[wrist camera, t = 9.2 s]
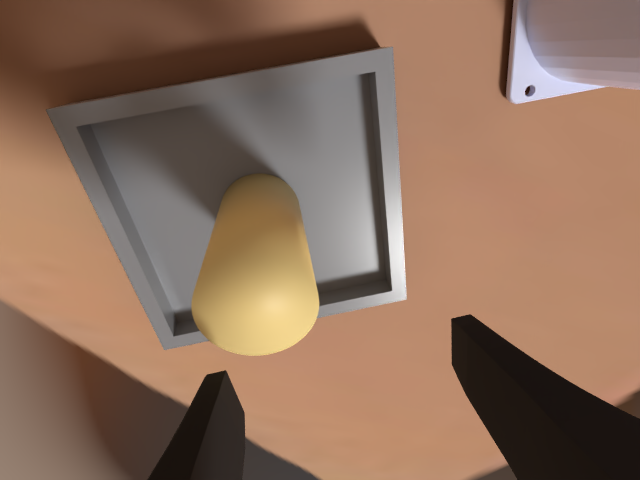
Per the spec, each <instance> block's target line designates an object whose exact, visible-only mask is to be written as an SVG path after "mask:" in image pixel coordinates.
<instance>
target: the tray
mask: <svg viewBox="0 0 640 480" xmlns="http://www.w3.org/2000/svg"><path fill="white" fill-rule="evenodd" d="M46 111H47V113H48V115H49V118H50V120H51V122H52V124H53V126H54V128H55V130H56V132H57V134H58V136H59V138H60V140H61V142H62V144H63V146H64V148H65V150H66V152H67V154H68V156H69V158H70V160H71V162H72V164H73V166H74V168H75V170H76V172H77V174H78V176H79V178H80V180H81V182H82V184H83V186H84V188H85V190H86V193H87V195H88V197H89V199H90V201H91V203H92V205H93V207H94V209H95V211H96V213H97V215H98V217H99V219H100V221H101V223H102V225H103V227H104V229H105V231H106V233H107V235H108V237H109V239H110V241H111V243H112V245H113V247H114V249H115V251H116V253H117V255H118V257H119V259H120V261H121V263H122V265H123V268H124V270H125V272H126V274H127V276H128V278H129V280H130V282H131V284H132V286H133V288H134V290H135V292H136V294H137V296H138V298H139V300H140V302H141V304H142V306H143V308H144V310H145V312H146V314H147V316H148V318H149V320H150V322H151V324H152V326H153V328H154V330H155V332H156V334H157V336H158V338H159V340H160V343H161V345H162V347H163V349H164V350H167V349H172V348H177V347H182V346H186V345H191V344H196V343H201V342H205V341H209V340H208V339H207V338H206V337H205V336H204V335H203V334H202V333H201V332H200V330H199V329H198V327H197V325H196V323H195V321H194V318H193V315H192V309H191V304H192V296H193V292H194V289H195V286H196V283H197V279H198V276H199V273H200V270H201V266H202V263H203V260H204V257H205V253H206V250H207V247H208V243H209V240H210V237H211V234H212V230H213V227H214V224H215V221H216V217H217V214H218V211H219V208H220V204H221V201H222V198H223V195H224V194H225V192H226V190H227V189H228V187H229V186H230V185H231V184H232V183H233V182H235V181H236V180H238V179H239V178H241V177H244V176H246V175H250V174H257V173H262V174H269V175H273V176H275V177H278V178H280V179H281V180H283V181H284V182H286V183H287V184H288V185H289V186H290V187H291V188H292V189H293V191H294V192H295V194H296V196H297V198H298V201H299V205H300V210H301V214H302V219H303V224H304V229H305V234H306V238H307V243H308V248H309V253H310V257H311V262H312V267H313V272H314V277H315V281H316V286H317V291H318V296H319V311H318V316H317V318H320V317H325V316H329V315H334V314H339V313H344V312H349V311H353V310H358V309H363V308H368V307H372V306H377V305H382V304H387V303H391V302H396V301H401V300H406V299H407V296H406V278H405V259H404V241H403V223H402V205H401V186H400V168H399V150H398V131H397V113H396V95H395V76H394V58H393V47H379V48H373V49H368V50H362V51H357V52H351V53H346V54H340V55H334V56H329V57H323V58H318V59H312V60H307V61H301V62H296V63H290V64H285V65H279V66H274V67H268V68H263V69H257V70H252V71H246V72H241V73H235V74H230V75H224V76H219V77H213V78H208V79H202V80H196V81H191V82H185V83H180V84H174V85H169V86H163V87H158V88H152V89H147V90H141V91H136V92H130V93H125V94H119V95H114V96H108V97H103V98H97V99H92V100H86V101H81V102H75V103H70V104H65V105H61V106H58V107H54V108H50V109H46Z"/></svg>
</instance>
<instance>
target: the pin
mask: <svg viewBox="0 0 640 480" xmlns="http://www.w3.org/2000/svg"><path fill="white" fill-rule="evenodd" d="M191 309H192V315H193V318H194V321H195V323H196V325H197V327H198V329H199V330H200V332H201V333H202V334H203V335H204V336H205V337H206V338H207V339H208V340H209V341H210V342H212V343H213V344H215V345H216V346H218V347H220V348H222V349H224V350H226V351H229V352H232V353H236V354H241V355H252V356H257V355H267V354H272V353H276V352H279V351H282V350H285V349H287V348H289V347H291V346H293V345H294V344H296V343H297V342H299V341H300V340H301V339H302V338H303V337H304V336H305V335H306V334H307V333H308V332H309V331H310V329H311V328H312V327H313V325H314V323H315V321H316V318H317V316H318V311H319V296H318V291H317V286H316V281H315V277H314V272H313V267H312V262H311V257H310V253H309V248H308V243H307V238H306V234H305V229H304V224H303V219H302V214H301V210H300V205H299V201H298V198H297V196H296V194H295V192H294V191H293V189H292V188H291V187H290V186H289V185H288V184H287V183H286V182H284V181H283V180H281V179H280V178H278V177H275V176H273V175H269V174H262V173H257V174H250V175H246V176H244V177H241V178H239V179H238V180H236V181H235V182H233V183H232V184H231V185H230V186H229V187H228V189H227V190H226V192H225V194H224V195H223V198H222V201H221V204H220V208H219V211H218V214H217V217H216V221H215V224H214V227H213V230H212V234H211V237H210V240H209V243H208V247H207V250H206V253H205V257H204V260H203V263H202V266H201V270H200V273H199V276H198V279H197V283H196V286H195V289H194V292H193V296H192V304H191Z"/></svg>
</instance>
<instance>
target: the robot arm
mask: <svg viewBox="0 0 640 480" xmlns="http://www.w3.org/2000/svg"><path fill="white" fill-rule="evenodd" d="M528 86H530V91H529V93H528V94H527V95H525V90H526V88H527V87H528ZM603 87H618V88H627V89H637V90H640V0H514V3H513V15H512V27H511V40H510V52H509V64H508V77H507V89H506V98H507V100H508V101H509V102H511V103H518V104H519V103H524V102H529V101H534V100H540V99H545V98H550V97H555V96H561V95H566V94H571V93H576V92H582V91H587V90H592V89H597V88H603ZM451 326H452V366H453V368H454V370H455V372H456V375H457V377H458V379H459V381H460V383H461V385H462V387H463V390H464V392H465V394H466V396H467V397H468V399H469V401H470V402H471V404H472V406H473V407H474V409H475V410H476V412H477V414H478V415H479V417H480V419H481V420H482V422H483V424H484V425H485V427H486V428H487V430H488V432H489V433H490V435H491V436H492V438H493V440H494V441H495V443H496V445H497V446H498V448H499V449H500V451H501V453H502V454H503V456H504V457H505V459H506V461H507V462H508V464H509V466H510V467H511V469H512V471H513V472H514V474H515V476H516V478H517V480H640V419H639V418H636V417H634V416H632V415H630V414H628V413H626V412H624V411H622V410H620V409H618V408H616V407H614V406H613V405H611V404H609V403H607V402H605V401H603V400H601V399H600V398H598V397H596V396H594V395H592V394H590V393H588V392H586V391H585V390H583V389H581V388H579V387H578V386H576V385H574V384H573V383H571V382H569V381H568V380H566V379H564V378H563V377H561V376H559V375H558V374H556V373H555V372H553V371H551V370H550V369H548V368H547V367H545V366H544V365H542V364H540V363H539V362H537V361H536V360H534V359H533V358H531V357H530V356H528V355H527V354H525V353H524V352H522V351H521V350H520V349H518V348H517V347H515V346H514V345H512V344H511V343H509V342H508V341H507V340H505V339H504V338H502V337H501V336H500V335H498V334H497V333H495V332H494V331H493V330H491V329H490V328H489V327H487V326H486V325H484V324H483V323H482V322H480V321H479V320H478V319H476V318H475V317H473V316H472V315H465V316H461V317H457V318H452V319H451ZM244 454H245V414H244V411H243V408H242V406H241V404H240V401H239V399H238V397H237V394H236V392H235V390H234V388H233V385H232V383H231V381H230V378H229V376H228V374H227V371H221V372H217V373H212V374H208V375H206V377H205V378H204V380H203V382H202V384H201V386H200V388H199V390H198V391H197V393H196V395H195V397H194V399H193V401H192V403H191V405H190V407H189V409H188V411H187V413H186V414H185V416H184V418H183V420H182V422H181V424H180V425H179V427H178V429H177V431H176V433H175V434H174V436H173V438H172V440H171V441H170V443H169V445H168V447H167V448H166V450H165V452H164V454H163V455H162V457H161V458H160V460H159V462H158V463H157V465H156V467H155V468H154V470H153V471H152V473H151V475H150V476H149V478H148V480H242V475H243V465H244V464H243V463H244Z"/></svg>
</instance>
